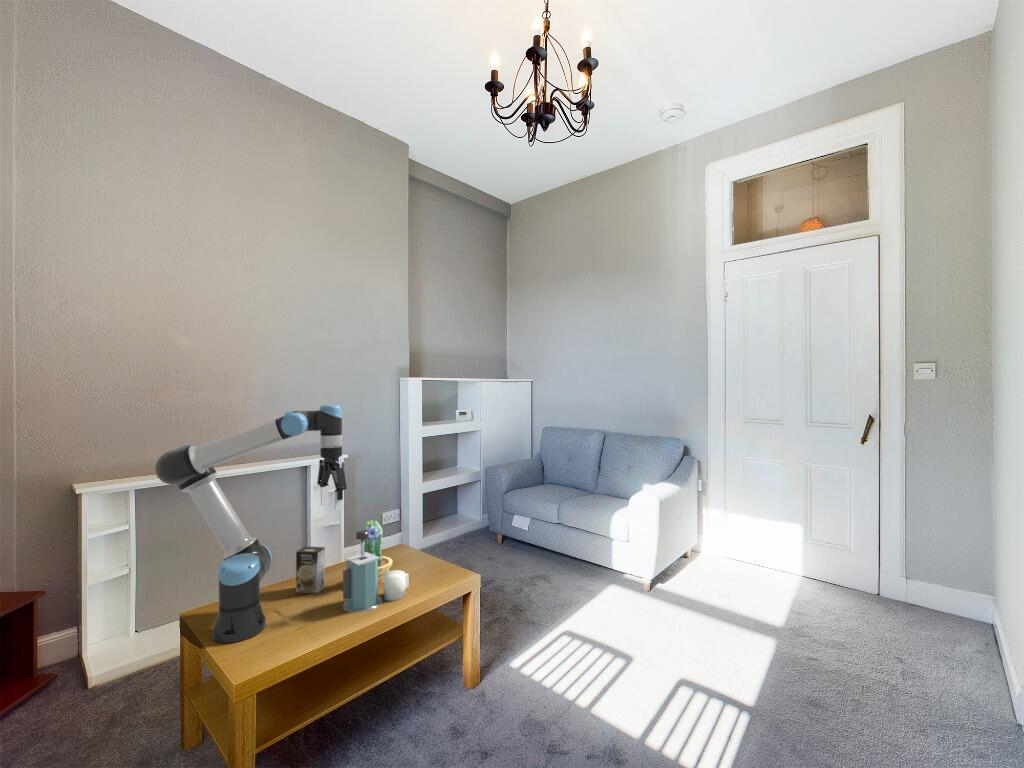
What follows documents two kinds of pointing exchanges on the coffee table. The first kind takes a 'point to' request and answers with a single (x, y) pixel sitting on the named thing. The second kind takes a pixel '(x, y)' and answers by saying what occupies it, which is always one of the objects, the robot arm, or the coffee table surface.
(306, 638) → the coffee table surface
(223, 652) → the coffee table surface
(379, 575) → the potted cactus
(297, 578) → the coffee box
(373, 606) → the trivet
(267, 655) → the coffee table surface
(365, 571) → the carafe
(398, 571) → the mug
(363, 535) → the plunger
